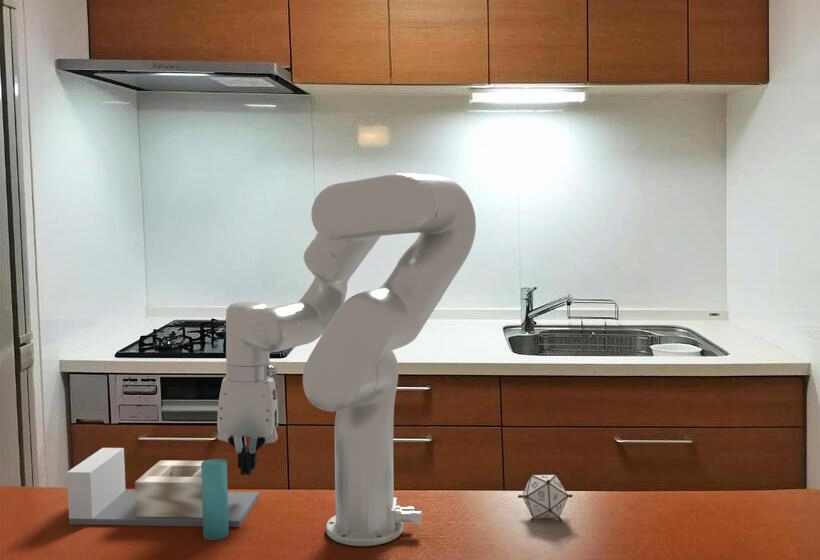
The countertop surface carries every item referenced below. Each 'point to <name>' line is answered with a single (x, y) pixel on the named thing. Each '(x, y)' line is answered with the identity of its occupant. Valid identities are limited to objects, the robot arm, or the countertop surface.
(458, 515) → the countertop surface
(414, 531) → the countertop surface
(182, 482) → the block
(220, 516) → the dowel
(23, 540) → the countertop surface
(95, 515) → the track
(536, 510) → the game die
